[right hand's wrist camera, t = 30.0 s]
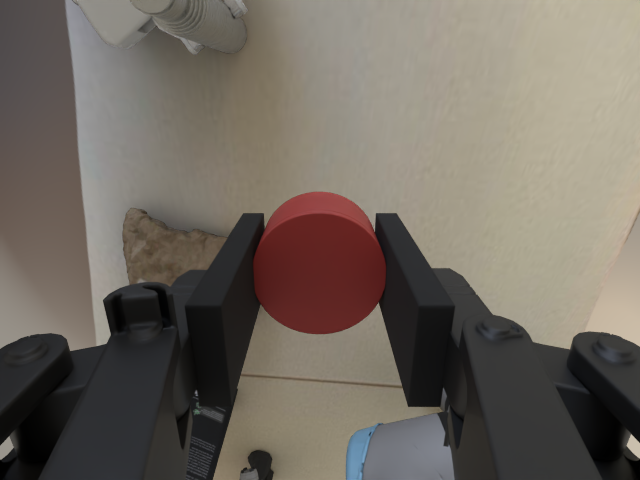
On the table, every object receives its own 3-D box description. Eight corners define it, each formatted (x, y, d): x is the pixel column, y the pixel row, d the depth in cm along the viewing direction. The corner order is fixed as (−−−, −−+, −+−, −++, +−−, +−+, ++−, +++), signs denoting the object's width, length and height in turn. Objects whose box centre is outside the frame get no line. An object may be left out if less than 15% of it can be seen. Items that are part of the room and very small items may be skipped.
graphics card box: (131, 374, 64) (9, 562, 39) (144, 344, 62) (24, 524, 36) (224, 410, 67) (168, 606, 42) (240, 383, 65) (191, 573, 40)
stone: (109, 302, 55) (95, 319, 49) (131, 203, 53) (120, 209, 47) (251, 328, 61) (254, 345, 55) (277, 240, 59) (282, 249, 53)
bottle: (227, 1, 44) (143, -76, 23) (254, 34, 45) (198, -11, 24) (201, 30, 45) (98, -18, 24) (229, 61, 46) (154, 41, 25)
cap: (324, 314, 15) (325, 356, 13) (240, 251, 14) (224, 284, 12) (398, 240, 14) (415, 270, 12) (312, 166, 13) (310, 183, 11)
